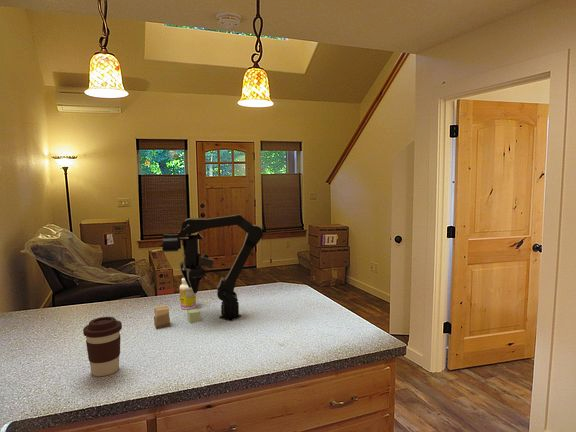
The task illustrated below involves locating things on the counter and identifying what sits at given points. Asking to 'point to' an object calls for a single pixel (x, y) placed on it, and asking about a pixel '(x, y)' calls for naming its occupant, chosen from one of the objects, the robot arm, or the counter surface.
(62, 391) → the counter surface
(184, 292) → the supplement bottle
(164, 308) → the oak block
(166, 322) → the walnut base
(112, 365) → the coffee cup
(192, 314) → the sage block
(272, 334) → the counter surface
